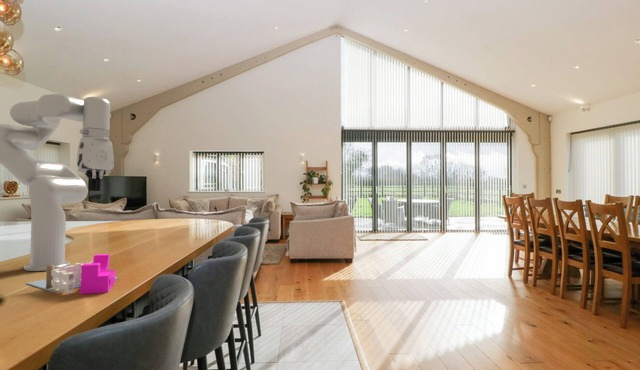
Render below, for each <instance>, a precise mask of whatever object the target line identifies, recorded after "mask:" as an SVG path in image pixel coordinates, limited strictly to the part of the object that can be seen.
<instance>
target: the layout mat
mask: <svg viewBox="0 0 640 370" xmlns="http://www.w3.org/2000/svg"><path fill="white" fill-rule="evenodd" d="M116 280H120V277H117V276H115V281H116ZM25 283H26V284H25V285H29V286H31V285H32V287H35V288H38V289H42V290H45V291H47V292H50V293H54V294H56V293H60V292H61V291H59V289H52V288H50V289H47V288H46V279H41V280H40V279H39V280H34V281H28V282H25ZM78 288H79V289H80V288H81V278H80V281H74V280H73V290H74V289H78Z"/></svg>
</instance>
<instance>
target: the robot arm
mask: <svg viewBox="0 0 640 370" xmlns="http://www.w3.org/2000/svg"><path fill="white" fill-rule="evenodd" d="M9 114H10V117H11V119H12V120H13V121H14V122H15V123H18V124H19V125H15V124H9V123H8V124H7V123H0V164H1V165H2V166H3V167H5V169H7V170H8V172H10V173H11V175H13V176H14V177H15V178H16V179H17V180H18V181H19V182H20V183H21V184H22V185H24V186H27V187H28V197H29V201H30V210H31V216H30V217H31V220H30V221H31V222H30V223H31V224H30V226H31V227H30V248H29V249H30V251H29V252H30V253H29V254H30V255H29V258H30V259H29V263H28V264H25V265H24V266H23V270H25V271H29V272H42V271H46V272H47V266H48V265H55V269H57V268H58V266H64V267H67V266H71V262H70V261H68V260H65V259H66V257H65V256H66V255H65V254H66V229H67V227H66V226H67V216H66V212H65V210H64V209H63V207H62V206H61V204H77V203H81V202H83V201H85V199H86V198H87V196H88V194H89V193H88V192H101V182H102V179H103V177H104V176H105V175H108V174H109V175H110V174H111V173H112V170H113V169H114V166H115V162H114V161H115V157H114V147H113V143H112V141H111V140H110V129H111V128H110V127H111V126H110V122H111V103H110V101H109V100H108V99H106V98H103V97H98V96H97V97H96V96H87V97H85V98H84V99H82V98H78V97H74V96H71V95H67V94H63V93H62V94H61V93H53V94H43V95H41V96H40V97H39V98H38V99H37V100H32V101H31V100H29V101H21V102H18V103H15V104H14V105H13V106H11V108H10V109H9ZM61 119H67V120H71V121H76V122H80V123H82V129H81V128H80V130H79V134H82V137H81V138H80V140H79V143H78V148H77V154H76V165H77V168H78V169H77V171H78V173H82V174H84V175H85V176H86V179H88V186H87V183H86V181H85V180H84V179H83V178H82V177H80V175H78V174H77V173H76V172H74V170H72V168H70V167H69V166H68V165H66V164H65V163H62V162H56V161H47V160H45V161H44V160H39V159H37V158H35V157H34V156H33V155H32V154H31V153H30V152H28V151H26V150H29V151H36V150H39V149H40V148H41V149H42V148H43V146H44V145H45V144H46V143H48V140H49V139H50V138H51V136H52V135H53V134H54V132H55V131H56V130H57V129H58V127H59V125H60V123H61Z"/></svg>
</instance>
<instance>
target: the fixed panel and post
mask: <svg viewBox="0 0 640 370" xmlns="http://www.w3.org/2000/svg"><path fill="white" fill-rule="evenodd" d="M73 274H74V271H70V272H67V271H65V270H64V271H60V269H55V265H48V266H47V270H46V277H45V278H46V288H47V289H50V288H52V289H59V291H60V292H64V291H65V294H72V293H74V289H73Z"/></svg>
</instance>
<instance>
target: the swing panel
mask: <svg viewBox="0 0 640 370" xmlns="http://www.w3.org/2000/svg"><path fill="white" fill-rule="evenodd" d="M90 263H93V260H91V261H90ZM83 264H84V263H79V262H78V263H74V265H69V266H67V267H64V266H58V268H57V269H60V271H64V270H65V271H67V272H66V273H70V272H74V273H73V280H74V281H80V278H81V270H82V265H83Z"/></svg>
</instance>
